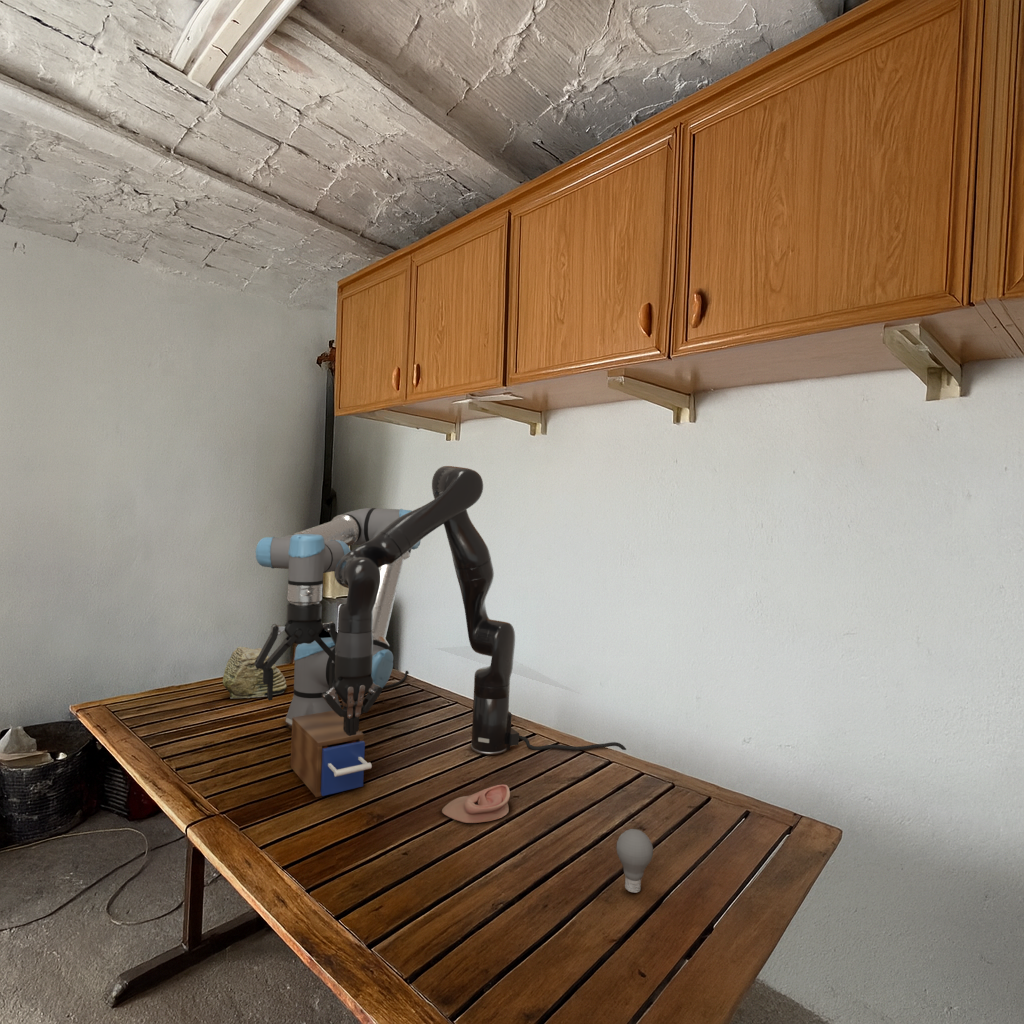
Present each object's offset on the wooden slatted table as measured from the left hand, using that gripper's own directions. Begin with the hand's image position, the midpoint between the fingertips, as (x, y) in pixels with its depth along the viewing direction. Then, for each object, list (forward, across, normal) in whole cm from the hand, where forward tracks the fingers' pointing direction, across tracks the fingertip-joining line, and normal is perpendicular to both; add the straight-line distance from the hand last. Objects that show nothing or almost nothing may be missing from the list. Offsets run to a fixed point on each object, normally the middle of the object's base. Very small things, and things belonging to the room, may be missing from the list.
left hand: (301, 695), depth 144 cm
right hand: (+4, +7, -18) cm, 19 cm away
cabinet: (+18, +5, -4) cm, 19 cm away
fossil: (+18, -3, +62) cm, 65 cm away
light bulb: (+18, +42, -67) cm, 81 cm away
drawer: (+17, +6, -10) cm, 20 cm away
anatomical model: (+18, +30, -32) cm, 47 cm away
